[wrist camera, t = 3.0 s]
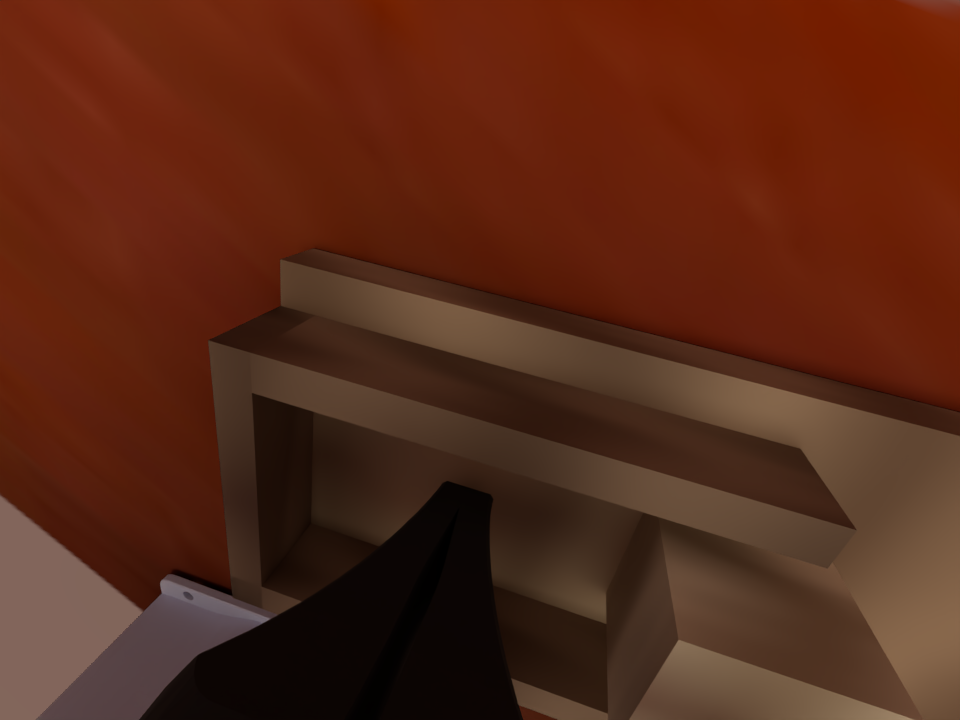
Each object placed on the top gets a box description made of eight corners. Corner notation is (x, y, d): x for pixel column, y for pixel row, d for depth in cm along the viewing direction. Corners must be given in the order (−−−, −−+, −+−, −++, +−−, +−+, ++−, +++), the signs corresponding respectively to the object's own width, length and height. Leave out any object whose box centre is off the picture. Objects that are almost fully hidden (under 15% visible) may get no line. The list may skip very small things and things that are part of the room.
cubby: (284, 534, 16) (232, 597, 13) (280, 306, 12) (207, 340, 10) (664, 667, 14) (676, 764, 12) (800, 448, 10) (857, 530, 8)
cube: (605, 592, 13) (608, 752, 10) (654, 490, 12) (677, 639, 8) (746, 639, 13) (804, 826, 9) (819, 540, 11) (925, 723, 7)
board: (307, 580, 19) (246, 670, 16) (313, 248, 13) (214, 280, 9) (1064, 852, 15) (1191, 1044, 12) (1592, 572, 9) (2162, 812, 6)
